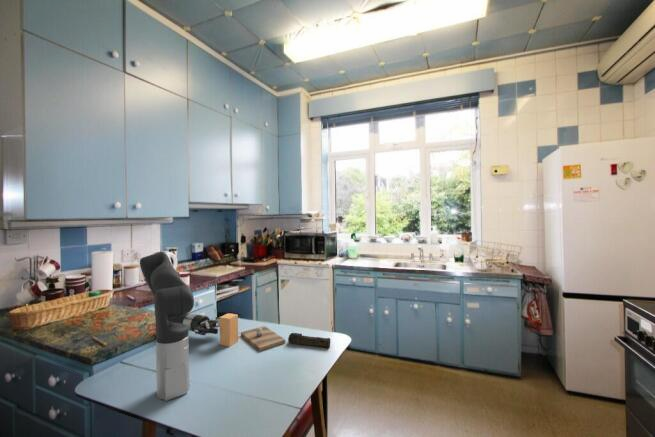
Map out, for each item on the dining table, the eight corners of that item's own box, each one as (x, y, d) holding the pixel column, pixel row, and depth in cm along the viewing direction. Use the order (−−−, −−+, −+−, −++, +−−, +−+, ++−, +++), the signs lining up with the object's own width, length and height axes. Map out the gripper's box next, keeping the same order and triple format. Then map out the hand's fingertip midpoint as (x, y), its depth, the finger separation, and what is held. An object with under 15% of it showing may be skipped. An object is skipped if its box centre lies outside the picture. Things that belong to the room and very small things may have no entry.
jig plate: (285, 342, 124) (285, 331, 124) (260, 351, 116) (259, 339, 116) (264, 328, 139) (264, 318, 139) (240, 335, 132) (240, 324, 132)
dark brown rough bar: (331, 345, 121) (331, 335, 121) (328, 350, 118) (328, 339, 118) (290, 340, 127) (290, 330, 127) (287, 344, 123) (287, 333, 123)
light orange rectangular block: (238, 341, 126) (237, 314, 125) (229, 346, 121) (229, 318, 120) (228, 339, 128) (228, 313, 127) (219, 344, 123) (219, 317, 122)
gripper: (183, 320, 124) (212, 325, 118) (207, 310, 137) (234, 313, 131) (183, 337, 124) (212, 343, 118) (207, 325, 137) (235, 329, 132)
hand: (224, 327), depth 125 cm, fingers open, 8 cm apart
